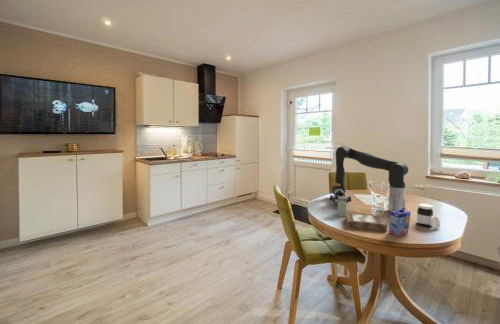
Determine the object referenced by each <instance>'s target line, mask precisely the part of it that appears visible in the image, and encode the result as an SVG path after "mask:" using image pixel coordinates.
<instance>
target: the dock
mask: <svg viewBox="0 0 500 324" xmlns="http://www.w3.org/2000/svg"><path fill="white" fill-rule="evenodd" d="M345 222H346V226H347V229H356V230H363V231H364V230H366V231H373V232H374V231H375V232H376V231H377V232H387V230H388V224H387V223H386V220H385V219H384V218H383V216H381V215H373V214H372V215H370V214H358V213H357V214H356V213H347V212H346V217H345Z"/></svg>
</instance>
